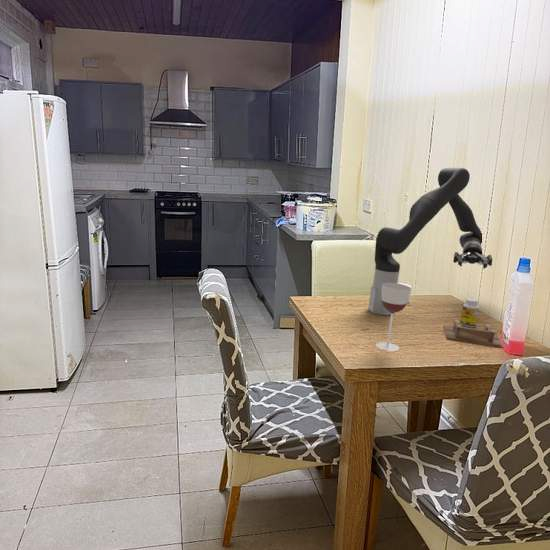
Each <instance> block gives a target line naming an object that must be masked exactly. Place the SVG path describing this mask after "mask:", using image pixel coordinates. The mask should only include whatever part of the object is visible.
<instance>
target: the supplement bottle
mask: <svg viewBox="0 0 550 550" xmlns="http://www.w3.org/2000/svg"><path fill="white" fill-rule="evenodd" d="M479 310H480V306H479V305H478V300H477V299H475V298H469V297H468V298H466V300H465V303H463V305H462V311H461V316H460V320H459V321H460V324H461V327H466V328H473V329H474V328H476V325H477V322H478V321H477V319H478V314H479Z"/></svg>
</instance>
